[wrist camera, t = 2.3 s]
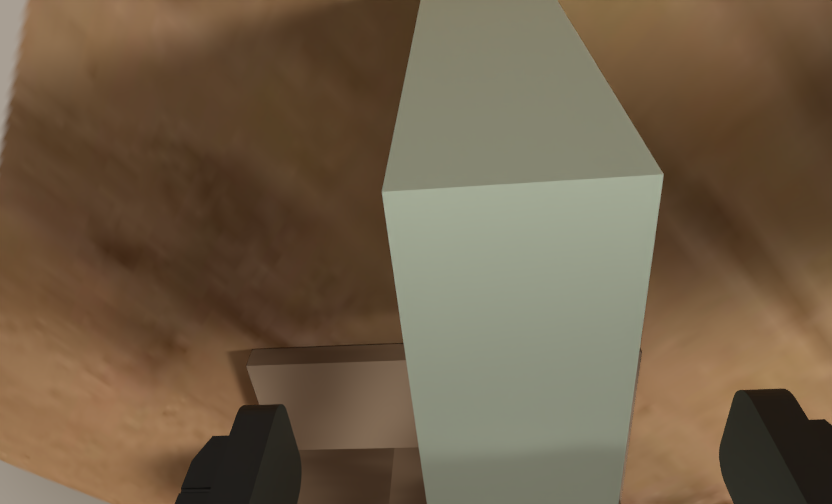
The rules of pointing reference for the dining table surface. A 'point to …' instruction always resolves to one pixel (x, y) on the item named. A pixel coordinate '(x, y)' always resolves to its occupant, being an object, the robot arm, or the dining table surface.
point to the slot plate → (351, 420)
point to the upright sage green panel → (517, 255)
